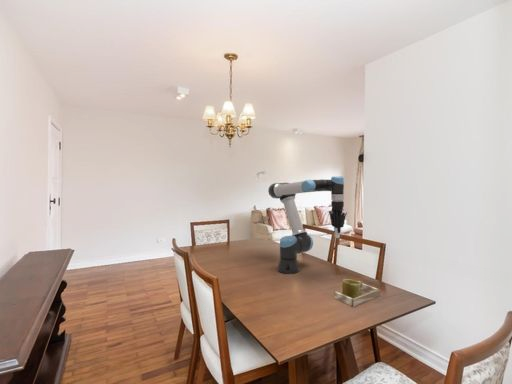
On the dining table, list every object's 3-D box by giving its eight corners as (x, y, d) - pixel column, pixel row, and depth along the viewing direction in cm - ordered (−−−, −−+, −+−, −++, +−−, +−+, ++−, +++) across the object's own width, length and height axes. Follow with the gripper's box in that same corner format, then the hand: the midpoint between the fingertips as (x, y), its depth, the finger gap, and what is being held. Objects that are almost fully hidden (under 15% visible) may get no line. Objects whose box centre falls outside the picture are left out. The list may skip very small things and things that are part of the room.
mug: (349, 298, 144) (348, 278, 147) (338, 297, 153) (338, 278, 156) (369, 300, 147) (368, 280, 150) (357, 298, 156) (357, 280, 159)
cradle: (334, 298, 149) (334, 291, 149) (360, 288, 161) (360, 282, 161) (353, 306, 139) (353, 300, 139) (380, 295, 151) (380, 289, 151)
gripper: (325, 200, 179) (325, 236, 180) (341, 201, 168) (341, 240, 169) (333, 199, 183) (333, 235, 184) (349, 201, 172) (349, 238, 173)
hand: (337, 237), depth 177 cm, fingers closed
